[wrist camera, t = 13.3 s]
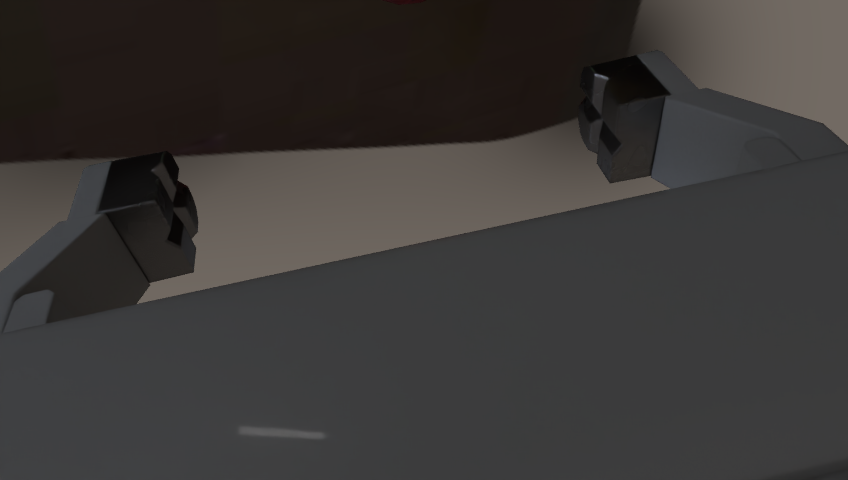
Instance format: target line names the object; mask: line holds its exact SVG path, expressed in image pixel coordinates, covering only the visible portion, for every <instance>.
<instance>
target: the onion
mask: <svg viewBox="0 0 848 480" xmlns="http://www.w3.org/2000/svg"><path fill="white" fill-rule="evenodd" d="M384 1H387V2H391V3H394V4H398V5H401V4H411V3H421V2H423V1H425V0H384Z"/></svg>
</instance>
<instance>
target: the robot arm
mask: <svg viewBox="0 0 848 480" xmlns="http://www.w3.org/2000/svg"><path fill="white" fill-rule="evenodd" d="M580 87H581V88H582V90H583V91H584V93H585V94H586V97H585V98H584V100H583V101H582V102H581V104H580V105H579V115H578V121H579V127H580V133H581V136H582V139H583V141H584V143H585V145H586V147H587V148H588V150H590V151H592V152H594V153H597V154H598V156H597V164H598V166H599V167H600V169H601V170H602V172H603V174H604V175H605V177H606V178H607V180H608V181H609V182H610V183H614V182H619V181H625V180H630V179H635V178H641V177H646V176H651V178H653V179H655V180H657V181H658V182H660V183H662V184H664V185H665V186H667V187H669V188H670V189H669V190H664V191H659V192H655V193H650V194H645V195H641V196H636V197H632V198H627V199H623V200H618V201H613V202H609V203H603V204H599V205H594V206H590V207H585V208H580V209H576V210H571V211H567V212H562V213H557V214H552V215H548V216H544V217H538V218H534V219H529V220H525V221H520V222H515V223H511V224H506V225H502V226H497V227H493V228H488V229H483V230H479V231H474V232H470V233H464V234H460V235H455V236H451V237H446V238H441V239H437V240H432V241H427V242H423V243H418V244H414V245H409V246H404V247H399V248H395V249H390V250H385V251H381V252H376V253H372V254H367V255H362V256H358V257H353V258H348V259H344V260H339V261H334V262H330V263H325V264H321V265H316V266H312V267H307V268H302V269H297V270H293V271H288V272H283V273H279V274H274V275H270V276H265V277H260V278H256V279H251V280H246V281H242V282H237V283H233V284H228V285H223V286H219V287H214V288H210V289H205V290H200V291H195V292H191V293H186V294H182V295H177V296H172V297H168V298H163V299H158V300H154V301H149V302H145V303H140V304H137V302H138V301H139V299H140V298H141V297H142V296H143V294H144V293H145V291H146V290H147V289H148V287H149V286H150V284H149V283H151V282H155V281H159V280H164V279H168V278H172V277H176V276H180V275H184V274H188V273H193V272H194V263H195V253H196V247H195V245H194V243H193V241H192V238H193V237H194V235H195V234H196V233H197V232H198V217H197V210H196V206H195V203H194V200H193V197H192V195H191V192H190V190H189V188H188V187H187V186H186V185H184V184H183V183H181V182H179V181H178V180H177V179H178V173H179V168H178V166H177V164H176V162H175V160H174V158H173V156H172V155H171V154H170V153H169V152H167V151H164V152H158V153H153V154H147V155H142V156H136V157H131V158H126V159H120V160H115V161H109V162H104V163H99V164H94V165H90V166H88V167H86V168H84V170H83V173H82V176H81V179H80V182H79V185H78V188H77V191H76V194H75V198H74V201H73V204H72V207H71V210H70V213H69V216H68V219H67V221H62V222H59V223H57V224H56V225H55V226H54V227H53V228H52V229H51V230H49V231H48V232H47V233H46V234H45V235H43V236H42V237H41V238H40V239H39V240H37V241H36V242H35V243H34V244H33V245H32V246H30V247H29V248H28V249H27V250H26V251H25V252H23V253H22V254H21V255H20V256H19V257H17V258H16V259H15V260H14V261H13V262H12V263H10V264H9V265H8V266H7V267H6V268H5V269H4V270H2V271H1V272H0V480H848V145H847V144H846V143H845V142H844V141H842V140H841V139H840V138H839V137H838V136H837V135H836V134H834V133H833V132H832V131H831V130H830V129H829V128H827V127H826V126H825V125H824V124H823V123H819V122H816V121H813V120H810V119H807V118H803V117H800V116H797V115H793V114H790V113H787V112H783V111H780V110H777V109H774V108H770V107H767V106H764V105H761V104H757V103H754V102H751V101H747V100H744V99H741V98H738V97H734V96H731V95H728V94H724V93H721V92H718V91H714V90H711V89H708V88H705V89H698V88H697V87H696V86H695V85H694V84H693V83H692V82H691V81H690V80H689V79H688V78H687V76H686V75H684V73H683V72H682V71H681V70H680V69H679V68H678V67H677V66H676V65H675V64H674V63H673V62H672V61H671V60H670V59H669V58H668V57H667V56H666V55H665V54H664V53H663V52H661V51H658V50H655V51H651V52H647V53H643V54H639V55H635V56H631V57H627V58H622V59H618V60H614V61H609V62H605V63H601V64H596V65H592V66H588V67H584V68H583V71H582V74H581V83H580Z"/></svg>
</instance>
